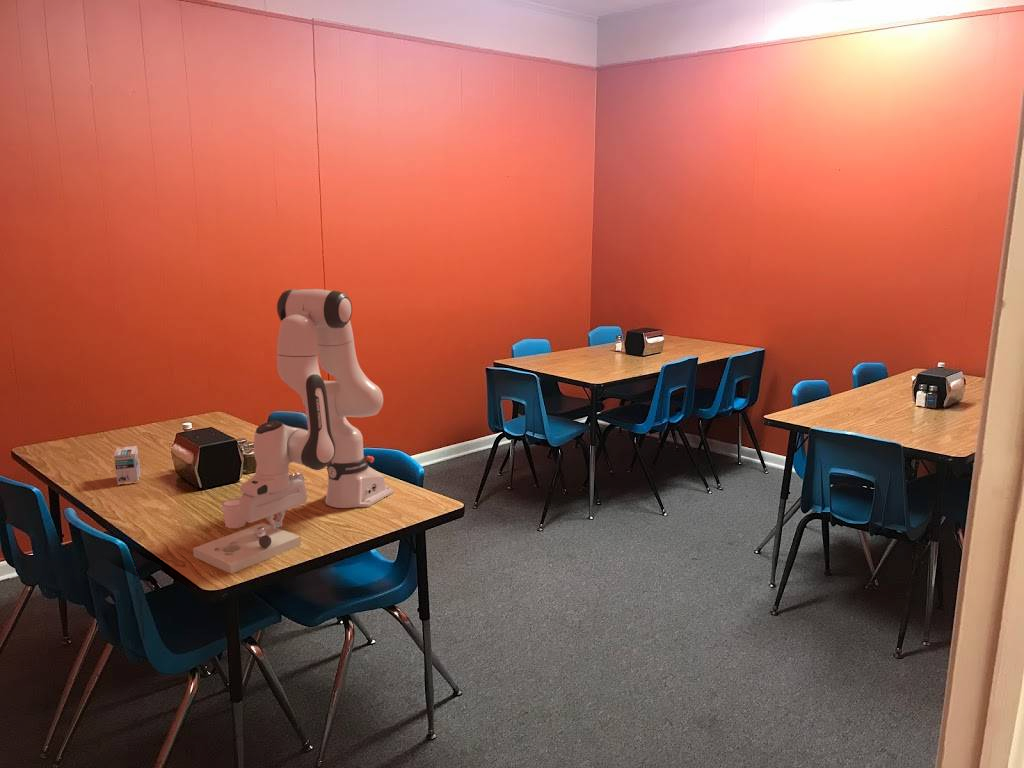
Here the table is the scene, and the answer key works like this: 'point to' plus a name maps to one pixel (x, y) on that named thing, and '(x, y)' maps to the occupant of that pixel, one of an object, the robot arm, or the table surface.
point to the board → (245, 548)
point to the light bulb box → (127, 464)
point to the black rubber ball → (265, 541)
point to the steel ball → (259, 531)
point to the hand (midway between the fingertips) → (276, 527)
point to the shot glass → (232, 513)
